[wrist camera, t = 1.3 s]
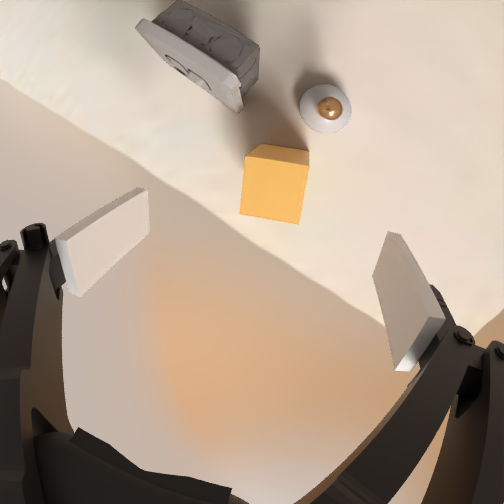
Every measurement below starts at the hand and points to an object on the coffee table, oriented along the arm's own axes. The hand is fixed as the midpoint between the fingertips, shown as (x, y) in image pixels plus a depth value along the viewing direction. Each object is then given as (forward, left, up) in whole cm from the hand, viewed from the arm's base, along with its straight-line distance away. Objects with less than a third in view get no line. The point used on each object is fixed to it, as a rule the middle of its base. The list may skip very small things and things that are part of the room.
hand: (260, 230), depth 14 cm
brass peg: (-5, +5, -11) cm, 14 cm away
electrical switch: (-12, -3, -13) cm, 18 cm away
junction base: (-5, +5, -13) cm, 15 cm away
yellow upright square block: (0, 0, -13) cm, 13 cm away
